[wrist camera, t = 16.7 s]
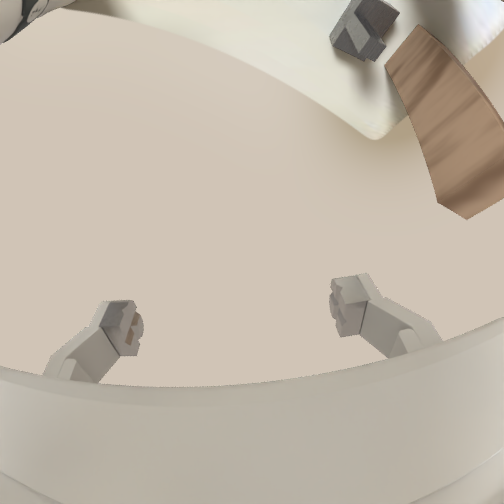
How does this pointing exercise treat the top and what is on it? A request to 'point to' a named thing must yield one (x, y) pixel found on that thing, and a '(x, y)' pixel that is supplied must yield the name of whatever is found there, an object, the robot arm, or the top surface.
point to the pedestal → (450, 124)
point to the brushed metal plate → (363, 28)
